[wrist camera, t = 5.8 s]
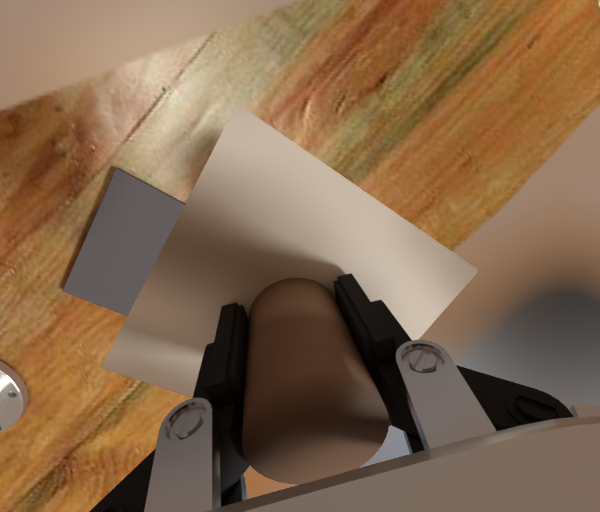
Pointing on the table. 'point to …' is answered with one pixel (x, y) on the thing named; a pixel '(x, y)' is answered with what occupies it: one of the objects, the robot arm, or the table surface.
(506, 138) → the table surface
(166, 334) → the lid
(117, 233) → the mat
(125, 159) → the table surface
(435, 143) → the table surface
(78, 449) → the table surface
